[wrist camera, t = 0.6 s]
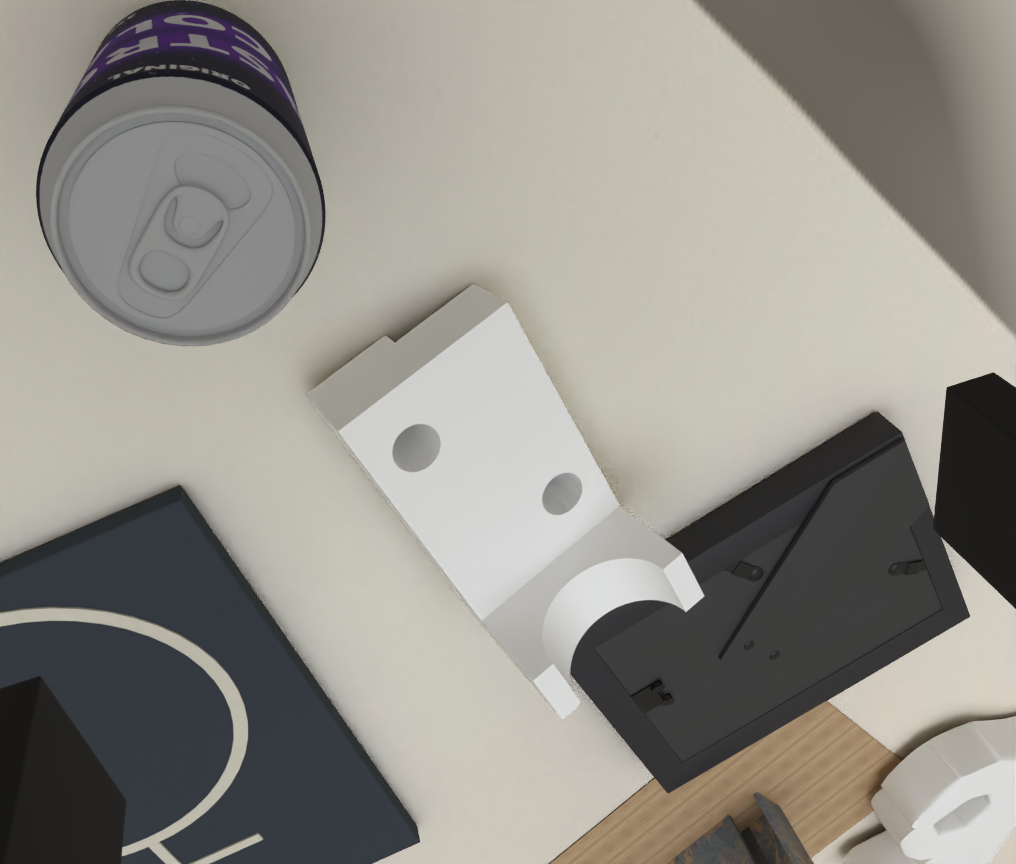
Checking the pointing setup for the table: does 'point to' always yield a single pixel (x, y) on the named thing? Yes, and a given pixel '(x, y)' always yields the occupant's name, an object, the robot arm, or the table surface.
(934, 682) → the table surface
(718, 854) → the architectural model on board
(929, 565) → the picture frame
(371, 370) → the bracket
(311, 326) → the table surface
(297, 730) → the desk pad
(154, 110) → the beverage can
